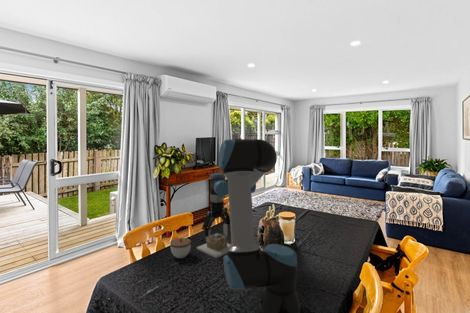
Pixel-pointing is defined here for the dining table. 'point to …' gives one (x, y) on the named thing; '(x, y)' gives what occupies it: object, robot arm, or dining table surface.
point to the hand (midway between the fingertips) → (217, 238)
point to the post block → (213, 252)
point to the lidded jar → (180, 247)
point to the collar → (217, 242)
